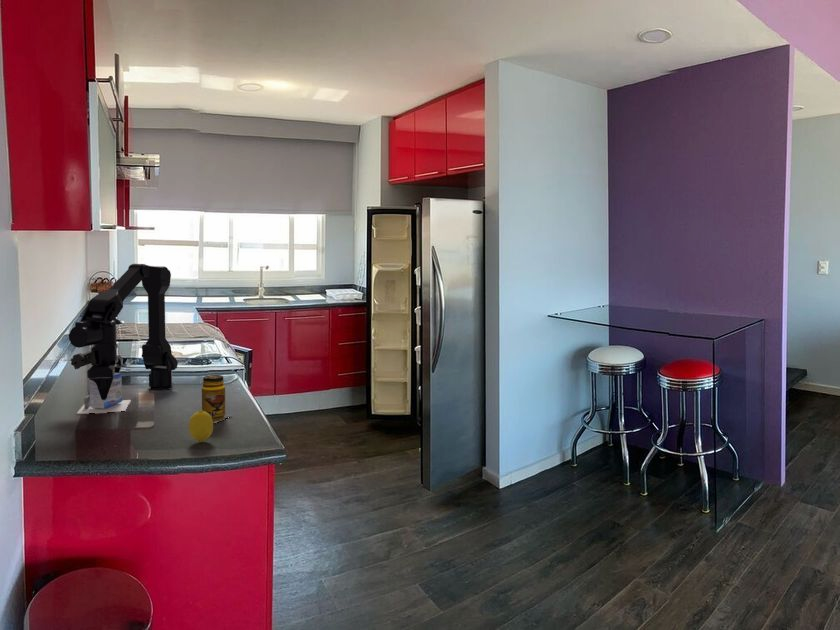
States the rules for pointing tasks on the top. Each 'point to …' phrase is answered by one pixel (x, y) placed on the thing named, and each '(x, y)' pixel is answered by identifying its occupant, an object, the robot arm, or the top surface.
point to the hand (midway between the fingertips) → (106, 395)
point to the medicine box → (113, 394)
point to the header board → (114, 408)
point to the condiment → (214, 397)
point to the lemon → (201, 425)
